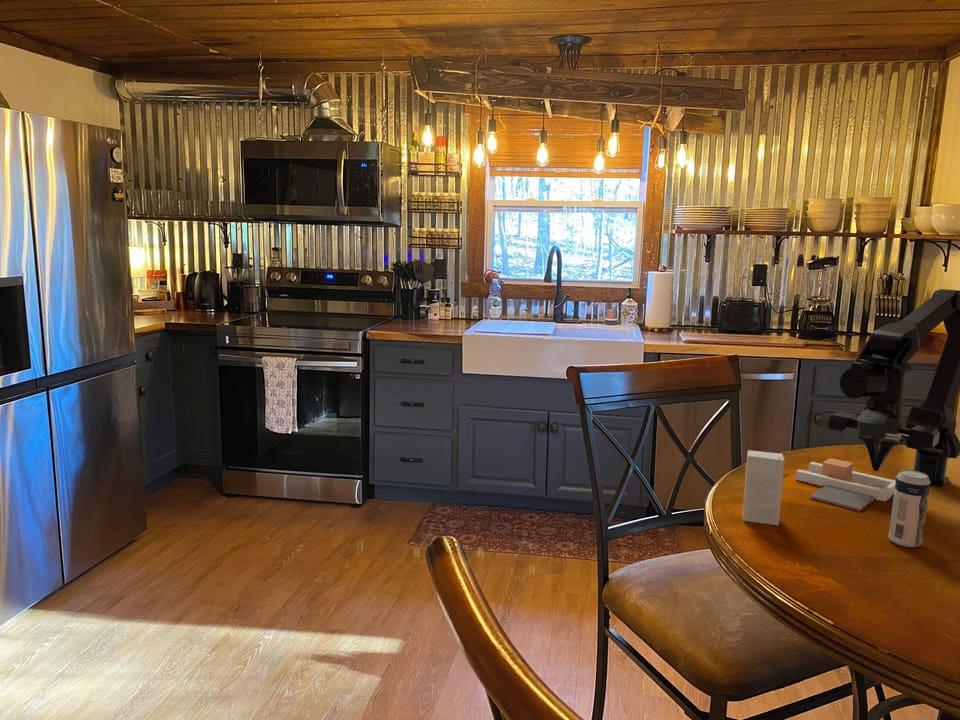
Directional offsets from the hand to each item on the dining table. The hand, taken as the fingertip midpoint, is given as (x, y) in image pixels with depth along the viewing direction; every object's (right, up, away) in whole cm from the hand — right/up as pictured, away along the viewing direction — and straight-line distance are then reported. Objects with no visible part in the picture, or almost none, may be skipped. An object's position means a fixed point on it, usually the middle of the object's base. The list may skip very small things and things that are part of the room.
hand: (876, 470), depth 141 cm
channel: (-4, -4, +4) cm, 7 cm away
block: (-5, -4, +5) cm, 8 cm away
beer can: (-8, -9, -23) cm, 26 cm away
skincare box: (-29, -7, -15) cm, 33 cm away
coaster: (-9, -5, -4) cm, 11 cm away
